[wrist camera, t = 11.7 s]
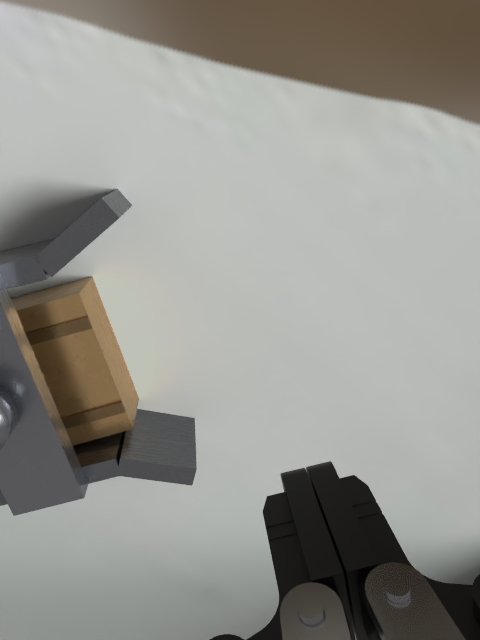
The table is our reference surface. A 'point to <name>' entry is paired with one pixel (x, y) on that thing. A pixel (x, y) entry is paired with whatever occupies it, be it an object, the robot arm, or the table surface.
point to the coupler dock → (41, 412)
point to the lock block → (79, 359)
